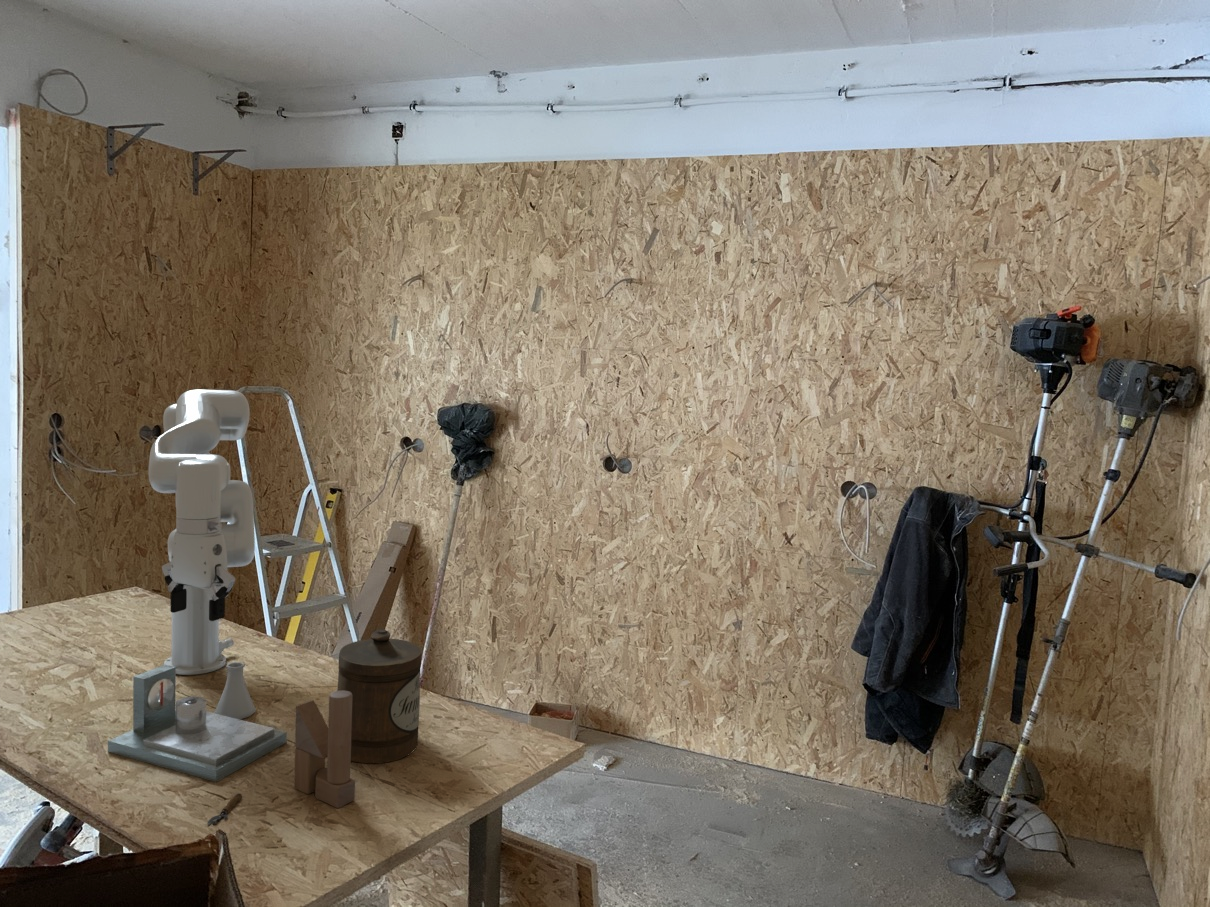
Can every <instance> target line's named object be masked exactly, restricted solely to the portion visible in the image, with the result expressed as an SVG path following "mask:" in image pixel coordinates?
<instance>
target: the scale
mask: <svg viewBox="0 0 1210 907" xmlns="http://www.w3.org/2000/svg"><path fill="white" fill-rule="evenodd" d="M176 676H177V674H176V667H173V666H169V665H161V666H158V667H155V668H153V669H152V668H151V669H150V670H148V671H143V672H142V673H140V674H137V675H134V676H132V677H133V678H132V679H133V682H132V684H133V690H132V695H133V696H132V698H133V700H132V702H133V705H132V706H133V708H132V709H133V710H132V711H133V712H132V714H133V715H132V716H133V717H132V718H133V719H132V720H133V721H132V722H133V725H132V729H131V730H129V731H126V732H124V733H122V734H120V735H118V736H116V737H113V738H111V739H108V740H107V753H111V754H115V755H119V756H121V757H124V758H125V757H126V758H128V759H132V760H136V761H140V762H144V763H148V764H150V765H155V766H158V767H161V768H165V769H168V770H172V771H176V772H180V773H183V774H187V775H190V776H194V777H195V778H196V777H197V778H201V779H204V780H207V781H210V782H214V783H215V782H216V783H217V782H219V781H220V780H222V779H224V778H227V777H228V776H230V775H231V774H233V773H235V772H236V771H238V770H240V769H242V768H244V767H245V766H248V765H249V764H250V763H252V762H255V761H257V760H258V759H260V758H262V757H263V756H265V755H266V754H268V753H270V752H272V751H274V750H275V749H277V748H280V747H281V746H283V745H285V744H287V743H288V742H287V738H288V737H287V736H288V734H287V731H284V730H281V729H275V727H271V726H267V725H265V724H264V725H263V724H258V723H255V722H252V721H247V720H243V719H235V718H231V717H227V716H223V715H219V714H215V712H212V711H211V712H210V711H207V710H206V729H205V730H203V731H202V732H199V733H196V734H189V735H183V734H178V733H177V732H176V731H175V710H176V683H177V682H176Z"/></svg>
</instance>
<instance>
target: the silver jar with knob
mask: <svg viewBox="0 0 1210 907" xmlns="http://www.w3.org/2000/svg"><path fill="white" fill-rule="evenodd" d="M206 711H207V698H205V697H203V696H186V697H183V698H179V699H178V700H176V701H175V731H176V732H177V733H178V734H183V735H189V734H196V733H199V732H202V731H203V730H205V729H206Z"/></svg>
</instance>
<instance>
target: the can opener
mask: <svg viewBox="0 0 1210 907" xmlns="http://www.w3.org/2000/svg"><path fill="white" fill-rule="evenodd" d="M242 797H243V795H242V794H241V793H239V792H238V793H236V794H235V795H234V796H233V797H232V798H231V799H230V800H229V802H228V803H227V804H226V805H225V806H224V807H223V808H222V810H221V811H220V814H218V815H215V816H212V817H211V818H210V819H209V820H208V821H207V823H206V824H207V827H209V826H210V825H211V824H212V825H213V826H217V822H218V823H219V822H220V820H221V819H222V818H223V820H225V819H227V818H228V814H229V813H230V812H231V810H232V809H233V808H234V807H235V806H236V805H237V804H238V803H239V802H240V801H241V799H242Z"/></svg>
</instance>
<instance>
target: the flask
mask: <svg viewBox="0 0 1210 907" xmlns="http://www.w3.org/2000/svg"><path fill="white" fill-rule="evenodd" d="M245 665H246V664H245V663H243V662H240V661H233V662H229V663H227V665H226V664H225V668H226V669H227V676H226V682H225V686H224V688H223V691H222V694H221V697H220V698H219V701H218V704H217V706H216V708H215V710H214V713H215V714H219V715H223V716H227V717H231V718H235V719H239V720H243V719H246V718H248V717H251V716H252V715H253V714H254V713H255V712H256V711H257V710H256V707H255V704H254V702H253V700H252V698H251V695H250V693H249V690H248V688H247V685H246V683H245V682H246V681H245V676H244V668H245V667H246V666H245Z"/></svg>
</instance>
